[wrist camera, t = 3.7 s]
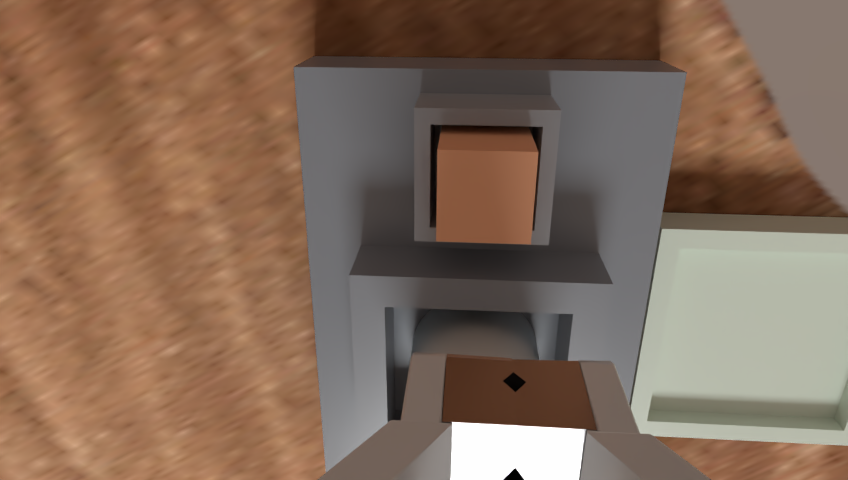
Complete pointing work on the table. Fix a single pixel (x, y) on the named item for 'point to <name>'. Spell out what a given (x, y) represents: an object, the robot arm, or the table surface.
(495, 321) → the cartridge
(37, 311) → the table surface
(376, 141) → the housing
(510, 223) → the plunger
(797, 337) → the tray
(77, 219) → the table surface
